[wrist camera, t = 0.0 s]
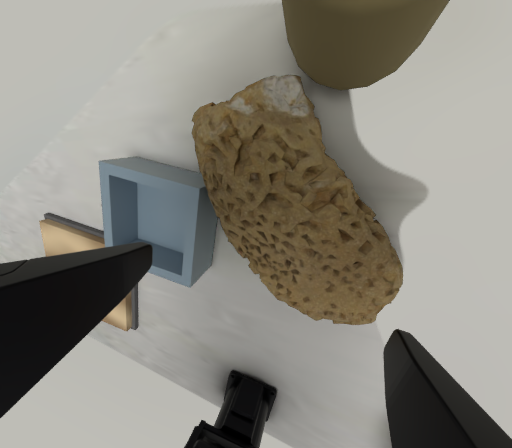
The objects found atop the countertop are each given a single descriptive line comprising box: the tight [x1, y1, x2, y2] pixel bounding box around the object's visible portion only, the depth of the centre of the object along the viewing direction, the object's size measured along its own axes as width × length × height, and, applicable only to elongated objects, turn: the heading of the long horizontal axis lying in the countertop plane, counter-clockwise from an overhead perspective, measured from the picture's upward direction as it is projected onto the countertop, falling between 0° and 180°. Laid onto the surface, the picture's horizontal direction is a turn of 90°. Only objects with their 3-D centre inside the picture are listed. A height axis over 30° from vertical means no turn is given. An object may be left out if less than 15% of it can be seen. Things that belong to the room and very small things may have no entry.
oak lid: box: [39, 219, 132, 331], centre depth 31 cm, size 13×13×5 cm
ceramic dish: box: [99, 157, 218, 287], centre depth 24 cm, size 10×10×4 cm
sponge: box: [192, 75, 403, 325], centre depth 19 cm, size 13×8×20 cm
